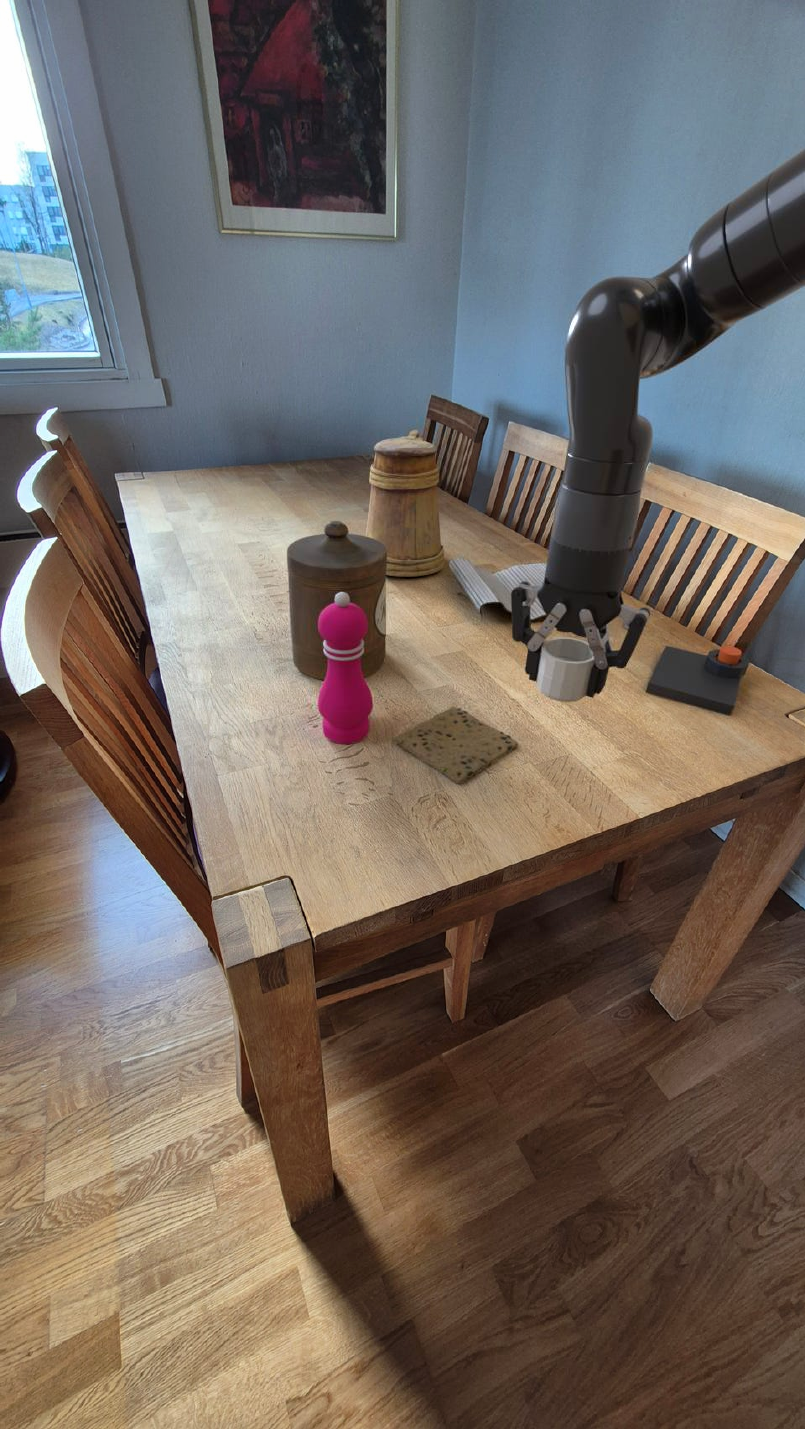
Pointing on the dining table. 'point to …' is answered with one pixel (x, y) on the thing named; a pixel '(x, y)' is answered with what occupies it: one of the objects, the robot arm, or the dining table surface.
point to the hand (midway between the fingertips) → (563, 685)
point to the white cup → (564, 669)
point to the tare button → (729, 655)
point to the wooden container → (320, 577)
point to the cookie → (456, 744)
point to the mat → (497, 584)
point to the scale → (697, 679)
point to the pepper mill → (344, 672)
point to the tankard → (406, 505)
